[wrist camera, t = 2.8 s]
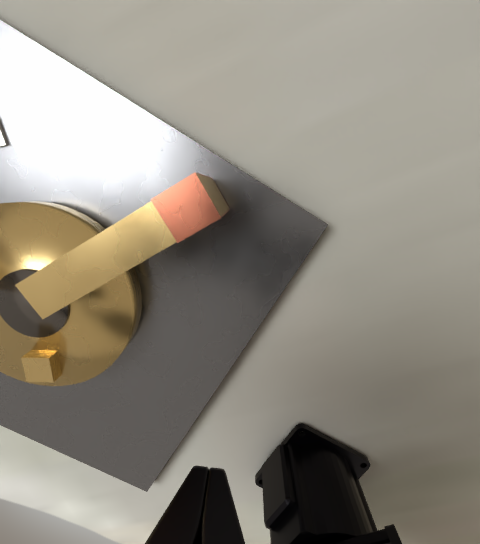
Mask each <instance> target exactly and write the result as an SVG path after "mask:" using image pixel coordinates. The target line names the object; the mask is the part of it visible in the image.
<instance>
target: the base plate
mask: <svg viewBox="0 0 480 544" xmlns="http://www.w3.org/2000/svg"><path fill="white" fill-rule="evenodd" d="M195 172H196V173H199V174H202V175H205V176H208V177H211V178H213V180H214V182H215V183H216V185H217V187H218V189H219V191H220V192H221V194H222V196H223V198H224V200H225V201H226V203H227V205H228V207H229V208H230V210H229V211H228V212H227V213H226V214H225V215H224V216H223V217H222V218H220V219H219V220H217V221H215V222H214V223H212V224H210V225H208V226H207V227H205V228H203V229H201V230H200V231H198V232H196V233H194V234H193V235H191V236H189V237H188V238H186V239H184V240H182V241H181V242H179V243H177V242H176V243H174V244H173V245H171V246H169V247H167V248H166V249H164V250H162V251H161V252H159V253H157V254H155V255H154V256H152V257H150V258H148V259H147V260H145V261H143V262H141V263H140V264H138V265H136V266H135V267H134V268H135V271H136V273H137V276H138V280H139V283H140V288H141V294H142V310H141V318H140V321H139V325H138V328H137V330H136V332H135V335H134V337H133V338H132V340H131V341H130V343H129V344H128V346H127V347H126V348H125V349H124V351H123V352H122V353H121V354H120V356H119V357H118V358H117V359H116V360H115V362H114V363H113V364H112V365H111V366H110V367H109V368H107V369H106V370H105V371H104V372H102V373H101V374H99V375H97V376H96V377H94V378H91V379H89V380H87V381H84V382H81V383H77V384H73V385H66V386H44V385H37V384H32V383H27V382H24V381H21V380H17V379H15V378H13V377H10V376H8V375H5V374H4V373H2V372H0V425H1V426H3V427H6V428H8V429H10V430H12V431H14V432H17V433H19V434H21V435H23V436H25V437H28V438H30V439H32V440H34V441H36V442H39V443H41V444H43V445H45V446H47V447H50V448H52V449H54V450H56V451H58V452H61V453H63V454H65V455H67V456H69V457H72V458H74V459H76V460H78V461H80V462H83V463H85V464H87V465H89V466H91V467H94V468H96V469H98V470H100V471H102V472H105V473H107V474H109V475H111V476H113V477H116V478H118V479H120V480H122V481H124V482H127V483H129V484H131V485H133V486H135V487H138V488H140V489H142V490H144V491H146V492H147V491H148V489H149V488H150V487H151V485H152V484H153V482H154V481H155V479H156V478H157V476H158V475H159V473H160V472H161V470H162V469H163V467H164V466H165V464H166V463H167V461H168V460H169V458H170V457H171V456H172V454H173V453H174V451H175V450H176V448H177V447H178V445H179V444H180V442H181V441H182V439H183V438H184V436H185V435H186V433H187V432H188V430H189V429H190V427H191V426H192V425H193V423H194V422H195V420H196V419H197V417H198V416H199V414H200V413H201V411H202V410H203V408H204V407H205V405H206V404H207V402H208V401H209V399H210V398H211V396H212V395H213V394H214V392H215V391H216V389H217V388H218V386H219V385H220V383H221V382H222V380H223V379H224V377H225V376H226V374H227V373H228V371H229V370H230V368H231V367H232V365H233V364H234V363H235V361H236V360H237V358H238V357H239V355H240V354H241V352H242V351H243V349H244V348H245V346H246V345H247V343H248V342H249V340H250V339H251V337H252V336H253V335H254V333H255V332H256V330H257V329H258V327H259V326H260V324H261V323H262V321H263V320H264V318H265V317H266V315H267V314H268V312H269V311H270V309H271V308H272V306H273V305H274V304H275V302H276V301H277V299H278V298H279V296H280V295H281V293H282V292H283V290H284V289H285V287H286V286H287V284H288V283H289V281H290V280H291V278H292V277H293V275H294V274H295V273H296V271H297V270H298V268H299V267H300V265H301V264H302V262H303V261H304V259H305V258H306V256H307V255H308V253H309V252H310V250H311V249H312V247H313V246H314V244H315V243H316V242H317V240H318V239H319V237H320V236H321V234H322V233H323V231H324V230H325V228H326V227H327V225H328V224H326V223H325V222H323V221H321V220H320V219H318V218H317V217H315V216H313V215H312V214H310V213H309V212H307V211H305V210H304V209H302V208H301V207H299V206H297V205H296V204H294V203H293V202H291V201H289V200H288V199H286V198H285V197H283V196H281V195H280V194H278V193H277V192H275V191H273V190H272V189H270V188H269V187H267V186H265V185H264V184H262V183H261V182H259V181H257V180H256V179H254V178H253V177H251V176H249V175H248V174H246V173H245V172H243V171H241V170H240V169H238V168H237V167H235V166H233V165H232V164H230V163H229V162H227V161H225V160H224V159H222V158H221V157H219V156H217V155H216V154H214V153H213V152H211V151H209V150H208V149H206V148H205V147H203V146H201V145H200V144H198V143H197V142H195V141H193V140H192V139H190V138H189V137H187V136H185V135H184V134H182V133H181V132H179V131H177V130H176V129H174V128H173V127H171V126H169V125H168V124H166V123H165V122H163V121H161V120H160V119H158V118H157V117H155V116H153V115H152V114H150V113H149V112H147V111H145V110H144V109H142V108H140V107H139V106H137V105H136V104H134V103H132V102H131V101H129V100H128V99H126V98H124V97H123V96H121V95H120V94H118V93H116V92H115V91H113V90H112V89H110V88H108V87H107V86H105V85H104V84H102V83H100V82H99V81H97V80H96V79H94V78H92V77H91V76H89V75H88V74H86V73H84V72H83V71H81V70H80V69H78V68H76V67H75V66H73V65H72V64H70V63H68V62H67V61H65V60H64V59H62V58H60V57H59V56H57V55H56V54H54V53H52V52H51V51H49V50H48V49H46V48H44V47H43V46H41V45H40V44H38V43H36V42H35V41H33V40H32V39H30V38H28V37H27V36H25V35H24V34H22V33H20V32H19V31H17V30H16V29H14V28H12V27H11V26H9V25H8V24H6V23H4V22H3V21H1V20H0V203H12V202H31V201H39V202H50V203H54V204H59V205H63V206H66V207H69V208H72V209H74V210H76V211H78V212H81V213H83V214H85V215H87V216H88V217H90V218H91V219H93V220H94V221H96V222H97V223H99V224H100V225H101V226H102V227H104V228H105V229H107V228H108V227H110V226H112V225H113V224H115V223H117V222H118V221H120V220H121V219H123V218H125V217H126V216H128V215H130V214H131V213H133V212H134V211H136V210H138V209H139V208H141V207H143V206H144V205H146V204H147V203H149V202H151V199H153V198H154V197H156V196H157V195H159V194H161V193H162V192H164V191H165V190H167V189H169V188H170V187H172V186H174V185H175V184H177V183H178V182H180V181H182V180H183V179H185V178H187V177H188V176H190V175H191V174H193V173H195Z"/></svg>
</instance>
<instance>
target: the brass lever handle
mask: <svg viewBox="0 0 480 544" xmlns="http://www.w3.org/2000/svg"><path fill="white" fill-rule="evenodd" d="M229 210H230V208H229V207H228V205H227V203H226V201H225V200H224V198H223V196H222V194H221V192H220V191H219V189H218V187H217V185H216V183H215V182H214V180H213V178H211V177H208V176H205V175H202V174H199V173H196V172H195V173H193V174H191V175H190V176H188V177H187V178H185V179H183V180H182V181H180V182H178V183H177V184H175V185H174V186H172V187H170V188H169V189H167V190H165V191H164V192H162V193H161V194H159V195H157V196H156V197H154V198H153V199H151V202H149V203H147V204H146V205H144V206H143V207H141V208H139V209H138V210H136V211H134V212H133V213H131V214H130V215H128V216H126V217H125V218H123V219H121V220H120V221H118V222H117V223H115V224H113V225H112V226H110V227H108V228H107V229H105V228H104V227H102V226H101V225H100V224H99V223H97V222H96V221H94V220H93V219H91V218H90V217H88V216H87V215H85V214H83V213H81V212H78V211H76V210H74V209H72V208H69V207H66V206H63V205H59V204H54V203H50V202H39V201H31V202H12V203H0V372H2V373H4V374H5V375H8V376H10V377H13V378H15V379H17V380H21V381H24V382H27V383H32V384H37V385H44V386H66V385H73V384H77V383H81V382H84V381H87V380H89V379H91V378H94V377H96V376H97V375H99V374H101V373H102V372H104V371H105V370H106V369H107V368H109V367H110V366H111V365H112V364H113V363H114V362H115V360H116V359H117V358H118V357H119V356H120V354H121V353H122V352H123V351H124V349H125V348H126V347H127V346H128V344H129V343H130V341H131V340H132V338H133V337H134V335H135V332H136V330H137V328H138V325H139V321H140V318H141V310H142V294H141V288H140V283H139V280H138V276H137V273H136V271H135V268H134V267H135V266H136V265H138V264H140V263H141V262H143V261H145V260H147V259H148V258H150V257H152V256H154V255H155V254H157V253H159V252H161V251H162V250H164V249H166V248H167V247H169V246H171V245H173V244H174V243H176V242H177V243H179V242H181V241H182V240H184V239H186V238H188V237H189V236H191V235H193V234H194V233H196V232H198V231H200V230H201V229H203V228H205V227H207V226H208V225H210V224H212V223H214V222H215V221H217V220H219V219H220V218H222V217H223V216H224V215H225V214H226V213H227V212H228V211H229Z"/></svg>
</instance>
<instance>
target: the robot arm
mask: <svg viewBox="0 0 480 544" xmlns="http://www.w3.org/2000/svg"><path fill="white" fill-rule="evenodd" d="M300 431H303V432H300ZM369 467H370V463H369V461H368V458H367V457H366V456H364V455H362V454H360V453H358V452H356V451H354V450H352V449H351V448H349V447H347V446H345V445H343V444H341V443H339V442H337V441H335V440H333V439H331V438H329V437H328V436H326V435H324V434H322V433H320V432H318V431H316V430H314V429H312V428H310V427H308V426H306V425H304V424H298V425H296V426H295V427H294V428H293V430H292V431H291V432H290V433H289V435H288V436H287V437H286V438H285V440H284V441H283V442H282V443H281V444H280V445H279V446H278V447H277V448H276V449H275V450H274V452H273V453H272V454H271V455H270V457H269V458H268V459H267V460H266V462H265V463H264V464H263V465H262V468H261V469H260V470H259V472H258V473H257V474H256V476H255V483H256V485H257V486H259V487H261V488H263V503H264V522H265V526H266V528H268V529H270V537H271V544H402V542H401V540H400V538H399V535H398V533H397V531H396V529H395V526H394V524H392V525H389V526H385V529H382V530H378V531H377V528H376V525H375V523H374V520H373V518H372V515H371V512H370V510H369V507H368V504H367V502H366V499H365V496H364V494H363V491H362V488H361V486H360V483H359V480H358V479H359V478H360V477H361V476H362V475H363V474H364V473H365V472H366V471H367V470H368V469H369ZM145 544H245V542H244V538H243V534H242V531H241V527H240V523H239V520H238V516H237V512H236V509H235V505H234V502H233V498H232V494H231V491H230V487H229V483H228V480H227V476H226V473H225V471H224V469H219V468H210V469H208V468H207V467H203V466H194V467H193V468H192V469H191V471H190V473H189V474H188V476H187V477H186V479H185V481H184V482H183V484H182V485H181V487H180V488H179V490H178V492H177V493H176V495H175V496H174V498H173V500H172V501H171V503H170V504H169V506H168V508H167V509H166V511H165V512H164V514H163V516H162V517H161V519H160V520H159V522H158V524H157V525H156V527H155V528H154V530H153V532H152V533H151V535H150V536H149V538H148V540H147V541H146V543H145Z"/></svg>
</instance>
